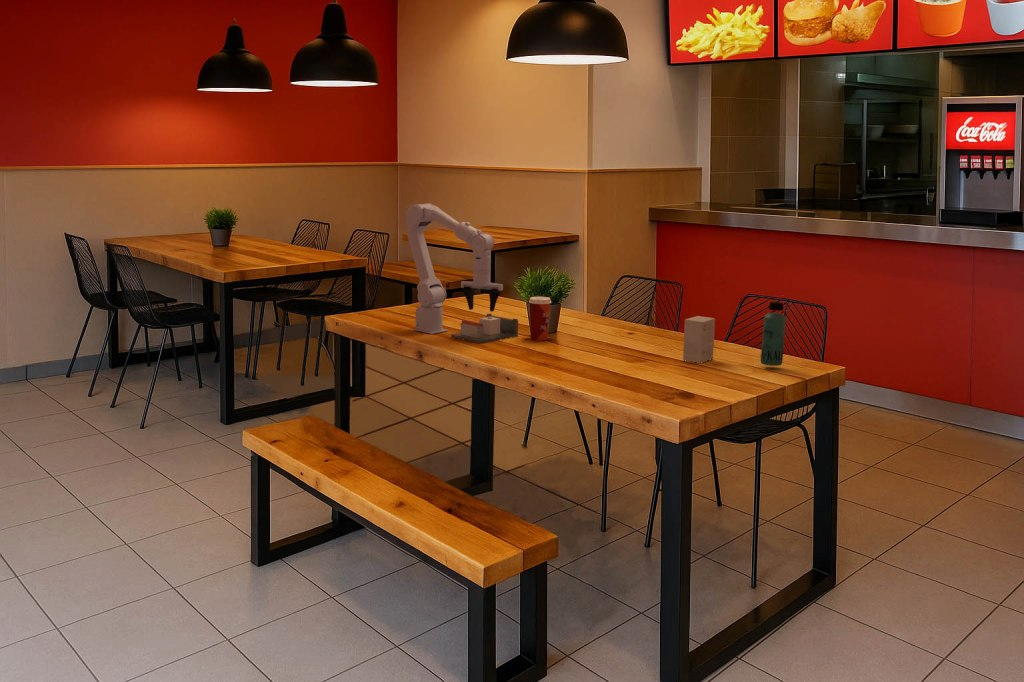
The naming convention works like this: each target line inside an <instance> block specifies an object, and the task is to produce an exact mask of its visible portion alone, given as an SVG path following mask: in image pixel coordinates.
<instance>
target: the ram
mask: <svg viewBox="0 0 1024 682" xmlns="http://www.w3.org/2000/svg"><path fill="white" fill-rule="evenodd" d="M460 333H461V335H464V336H468V337H473V338H482V337H484V325H483V324H482V323H479V322H477V321H471V320H467V319H462V320H461V322H460Z"/></svg>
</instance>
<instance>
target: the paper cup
mask: <svg viewBox="0 0 1024 682" xmlns="http://www.w3.org/2000/svg"><path fill="white" fill-rule="evenodd" d="M528 303H529V321H530V323H529V325H530V326H529V328H530V339H531V340H532V341H535V340H539V341H538V342H543V341H542V340H545V341H548V339H549V329H550V328H549V325H550V314H551V304H552V300H551V298H550V297H547V296H531V297H530V298H529V300H528Z"/></svg>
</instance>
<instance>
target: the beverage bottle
mask: <svg viewBox="0 0 1024 682" xmlns="http://www.w3.org/2000/svg"><path fill="white" fill-rule="evenodd" d="M768 310H770V311H784V303H783V302H780V301H770V302H769V304H768ZM763 318H764V320H763V329H762V339H761V350H760V358H759V359H760V364H762V365H765V366H769V367H770V366H772V367H773V366H775V367H776V366H777V367H778V366H781V365H782V364H783V360H784V349H785V333H786V332H785V331H786V322H787V317H786V316H785V315H784V314H783V313H780V312H767V314H765V315H764V316H763Z"/></svg>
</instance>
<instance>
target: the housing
mask: <svg viewBox="0 0 1024 682" xmlns="http://www.w3.org/2000/svg"><path fill="white" fill-rule="evenodd" d="M478 323H482V324H483V325H484V334H487V335H493V334H498V333H500V319H499V318H494V317H491V316H489V317H486V316H485V317H480V318H479V321H478Z"/></svg>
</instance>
